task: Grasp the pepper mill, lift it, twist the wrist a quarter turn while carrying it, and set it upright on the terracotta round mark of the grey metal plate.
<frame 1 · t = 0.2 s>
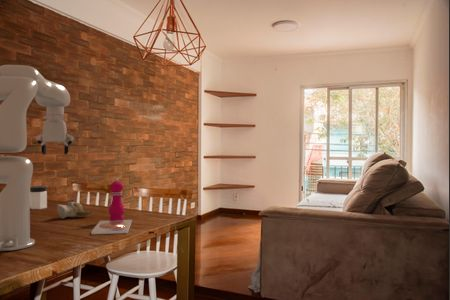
hand: (55, 154, 165), 31 cm above the table, fingers open, 9 cm apart
jar: (38, 208, 193), on the table
pepper mill: (116, 220, 164), on the table
ceramic sculpture: (73, 217, 170), on the table
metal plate: (113, 228, 149), on the table
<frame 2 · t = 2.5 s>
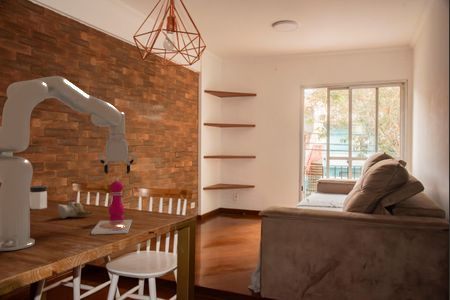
hand: (117, 173, 165), 22 cm above the table, fingers open, 9 cm apart
nothing on the table moved.
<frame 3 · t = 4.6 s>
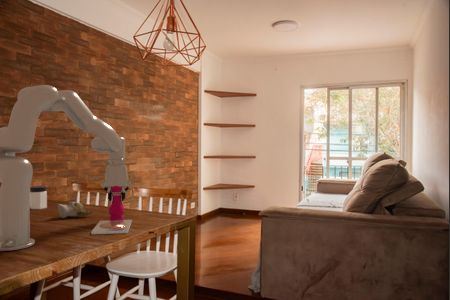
hand: (116, 200, 164), 9 cm above the table, fingers closed on pepper mill, 5 cm apart
pepper mill: (116, 220, 164), on the table, touching gripper
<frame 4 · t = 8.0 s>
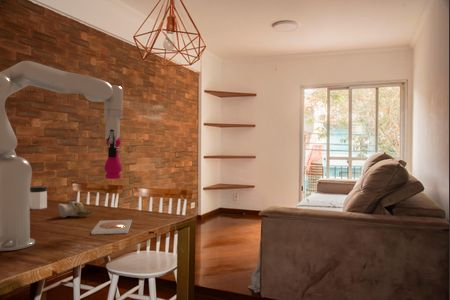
hand: (113, 156, 148), 31 cm above the table, fingers closed on pepper mill, 5 cm apart
pepper mill: (113, 178, 149), point 21 cm above the table, touching gripper
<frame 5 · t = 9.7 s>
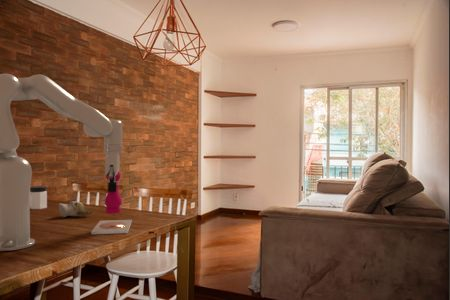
hand: (113, 190, 149), 16 cm above the table, fingers closed on pepper mill, 5 cm apart
pepper mill: (113, 212, 149), point 7 cm above the table, touching gripper
when the fingers open (12 cm above the table, at t = 11.4 s): pepper mill stays where it is, resting on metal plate.
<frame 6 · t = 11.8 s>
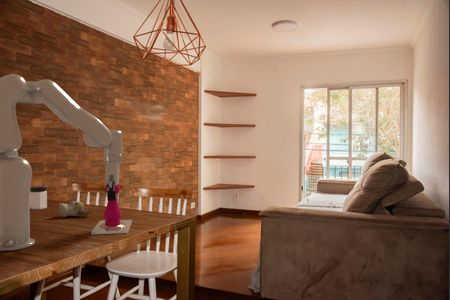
hand: (113, 198, 149), 13 cm above the table, fingers open, 9 cm apart
pepper mill: (112, 225, 149), point 1 cm above the table, touching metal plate
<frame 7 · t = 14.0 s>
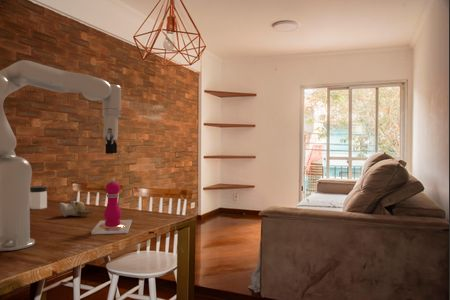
hand: (111, 153, 148), 32 cm above the table, fingers open, 9 cm apart
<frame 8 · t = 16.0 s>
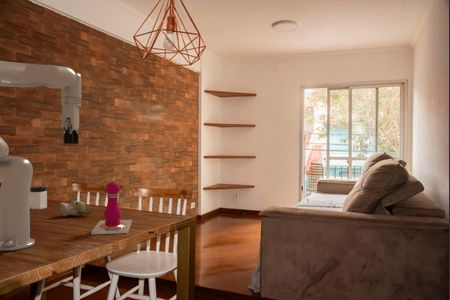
hand: (71, 143, 143), 36 cm above the table, fingers open, 9 cm apart
at the end: pepper mill inside the target area on the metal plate (0.2 cm from its centre), point 1.2 cm above the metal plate's base; pepper mill tilted 0°; the gripper is holding nothing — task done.
